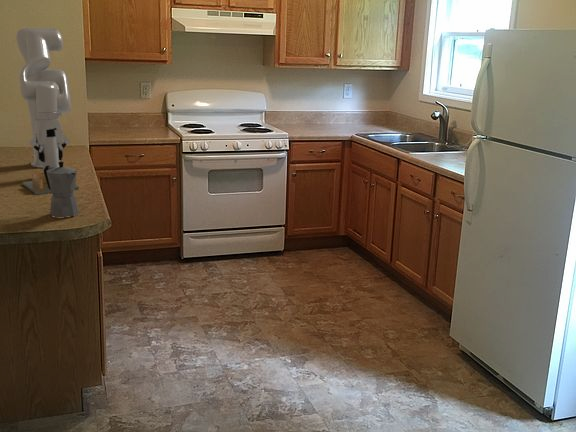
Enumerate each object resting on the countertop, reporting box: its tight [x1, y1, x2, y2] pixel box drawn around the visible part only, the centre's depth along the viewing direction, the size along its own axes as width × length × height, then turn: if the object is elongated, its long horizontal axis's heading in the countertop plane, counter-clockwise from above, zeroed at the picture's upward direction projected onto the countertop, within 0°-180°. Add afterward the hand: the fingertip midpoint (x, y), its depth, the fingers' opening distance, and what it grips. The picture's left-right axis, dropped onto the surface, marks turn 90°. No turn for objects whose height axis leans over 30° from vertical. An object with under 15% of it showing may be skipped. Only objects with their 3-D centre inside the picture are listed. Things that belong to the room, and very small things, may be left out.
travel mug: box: [42, 128, 59, 173], centre depth 253 cm, size 6×7×20 cm
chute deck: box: [21, 172, 80, 195], centre depth 242 cm, size 17×16×5 cm
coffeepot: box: [43, 160, 80, 217], centre depth 208 cm, size 15×9×18 cm, turn 57°
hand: (51, 160), depth 254 cm, fingers closed on travel mug, 6 cm apart
